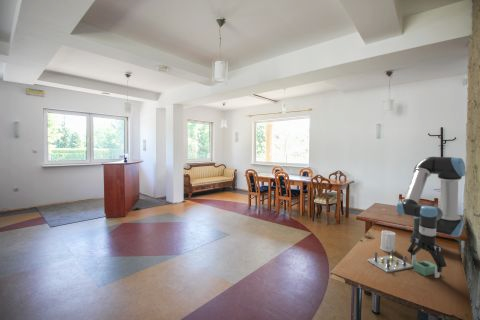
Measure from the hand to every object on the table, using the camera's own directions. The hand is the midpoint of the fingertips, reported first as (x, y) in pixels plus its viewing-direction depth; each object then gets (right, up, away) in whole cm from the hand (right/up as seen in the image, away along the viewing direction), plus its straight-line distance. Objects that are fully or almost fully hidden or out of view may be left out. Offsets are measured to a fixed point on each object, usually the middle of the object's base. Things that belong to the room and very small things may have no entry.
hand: (424, 271), depth 133 cm
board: (0, 0, 0) cm, 0 cm away
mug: (-5, +1, +27) cm, 27 cm away
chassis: (-15, 0, +8) cm, 17 cm away
